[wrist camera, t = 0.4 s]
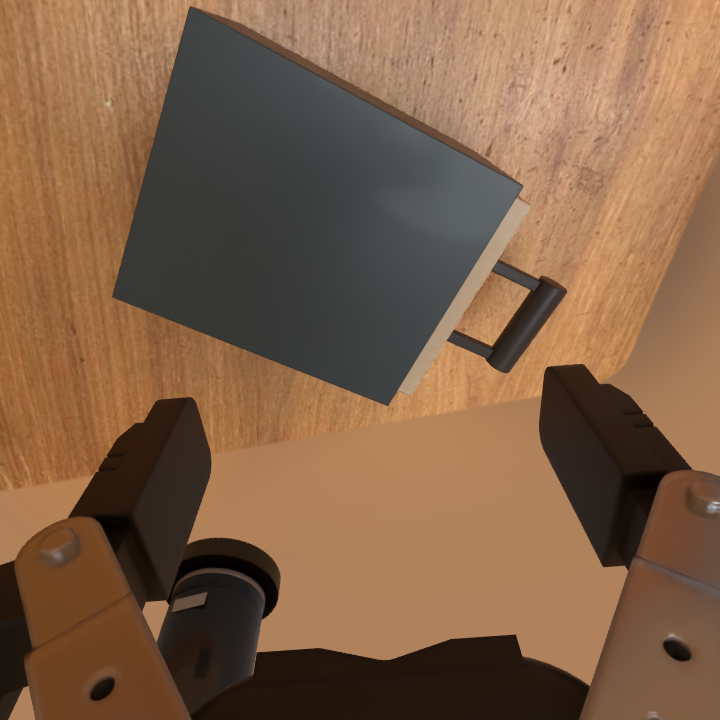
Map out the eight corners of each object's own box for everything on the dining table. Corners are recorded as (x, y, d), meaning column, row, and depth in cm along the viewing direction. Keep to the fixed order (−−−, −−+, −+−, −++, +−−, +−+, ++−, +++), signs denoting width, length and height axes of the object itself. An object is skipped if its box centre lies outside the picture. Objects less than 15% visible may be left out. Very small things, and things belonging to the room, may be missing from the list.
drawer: (561, 211, 31) (620, 252, 25) (462, 359, 36) (488, 427, 30) (274, 57, 27) (248, 55, 20) (207, 249, 32) (169, 298, 25)
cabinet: (476, 152, 30) (524, 186, 22) (379, 326, 36) (388, 406, 28) (239, 22, 27) (189, 5, 19) (172, 237, 33) (111, 297, 24)
